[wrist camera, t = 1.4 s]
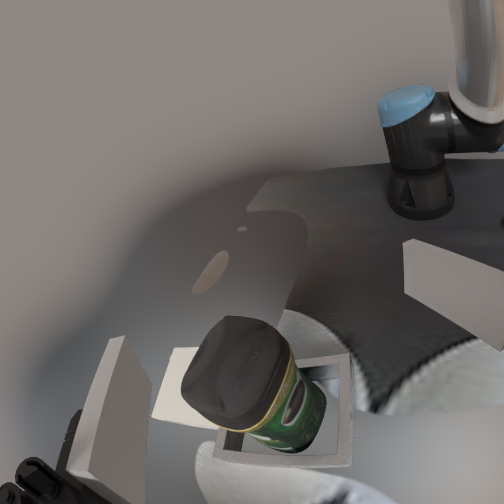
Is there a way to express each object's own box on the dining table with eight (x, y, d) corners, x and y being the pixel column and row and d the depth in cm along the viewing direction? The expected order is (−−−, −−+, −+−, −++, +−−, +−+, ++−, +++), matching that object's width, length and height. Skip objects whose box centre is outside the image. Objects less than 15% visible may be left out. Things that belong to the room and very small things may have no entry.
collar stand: (247, 377, 37) (232, 363, 35) (353, 367, 32) (349, 352, 29) (230, 462, 28) (212, 456, 25) (352, 466, 22) (347, 464, 19)
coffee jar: (280, 381, 35) (210, 300, 24) (334, 392, 30) (290, 309, 20) (252, 442, 29) (155, 392, 19) (307, 461, 24) (234, 431, 14)
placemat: (177, 350, 47) (174, 347, 47) (245, 347, 42) (242, 344, 41) (155, 418, 37) (151, 416, 36) (228, 430, 32) (224, 428, 31)
